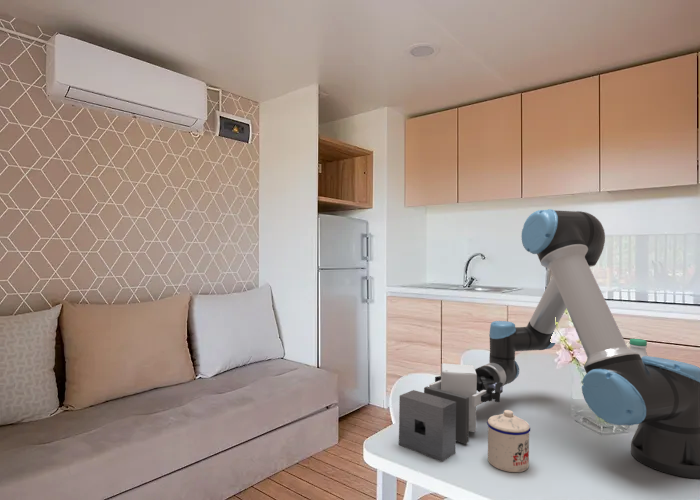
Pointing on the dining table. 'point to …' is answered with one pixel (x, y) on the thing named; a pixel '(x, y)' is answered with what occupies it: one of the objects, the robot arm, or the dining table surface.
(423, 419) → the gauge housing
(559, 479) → the dining table surface
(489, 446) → the teacup with lid
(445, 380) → the supplement box
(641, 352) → the milk bottle
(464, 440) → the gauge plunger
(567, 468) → the dining table surface
